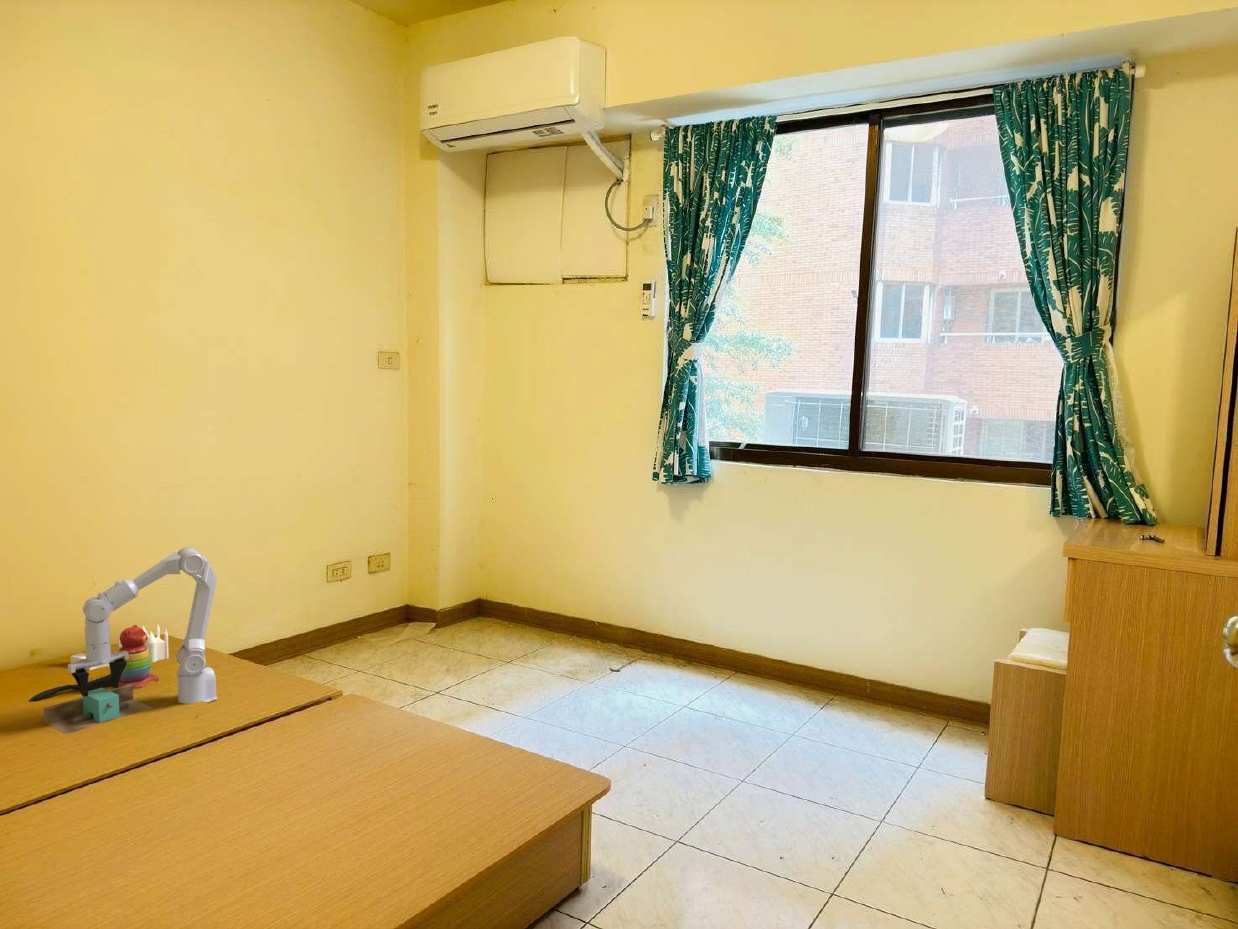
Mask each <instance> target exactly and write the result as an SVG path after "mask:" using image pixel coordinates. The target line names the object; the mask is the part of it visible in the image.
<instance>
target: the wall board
mask: <svg viewBox="0 0 1238 929" xmlns="http://www.w3.org/2000/svg"><path fill="white" fill-rule="evenodd" d="M107 690H108V691H111V692H113V693H115V694H117V695H119V705H120V704H124V703H128V704H129V708H127V709H123V710H120V711H119V717H117V718H113V719H110V720H107V721H103V722H100V723H99V722H97V721H95V720H94V718H93V719H90V720H86V721H83V722H80V723H76V724H72V723H71V719H72V718H76V717H79V716H82V715H83V698H82V697H80V698H76V699H72V700H68V701H64V702H60V703H58V704H54V705H49V706H45V707H43V717H44V720H43V721H44V724H46V725H48V726H49V727H52V728H53V729H55V730H57V731H59V732H61V733H63V734H65V735H69V734H72V733H75V732H79V731H82V730H85V729H88V728H91V727H94V726H98V725H101V724H102V725H103V724H104V723H105V724H106V723H109V722H111V721H115V720H118V719H122V718H124V717H128V716H132V715H135V714H137V713H142V712H144V711H148V710H151V709H153V706H150V705H149V704H148V705H147V704H145V703H143V702H141V701H139V700H136V699H134V689H133V685H131V684H129V685H126V686H122V687H119V686H118V688H112V689H107Z"/></svg>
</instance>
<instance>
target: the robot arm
mask: <svg viewBox="0 0 1238 929" xmlns="http://www.w3.org/2000/svg"><path fill="white" fill-rule="evenodd" d="M181 571H182V572H183V573H184V574H186V575H188V576H190V577H192V579H193V580H194V581H195V583H196V584H195V590H194V594H193V598H192V604H191V609H190V614H189V620H188V624H187V629H186V635H185V637H184V638H183V641H182V644H181V646H180V648H179V649H178V650H177V652H176V655H175V658H176V662H177V663H178V664H179V665H180V666H179V668H178V670H177V672H176V674H177V675H176V676H177V677H176V678H177V702H178V703H180V704H182V705H183V704H186V705H188V704H189V705H191V704H197V703H199V702H205V703H210V702H213V701H217V700H218V696H217V678H216V674H215V671H214V669H213V668H211V667H209V666H207V659H206V656H205V652H206V642H205V639H206V635H207V630H208V625H209V621H210V614H211V610H212V604H213V600H214V594H215V590H216V586H217V576H216V574H215V572H214V570H213V568H212V566H211V563H210V561H209V560H208V559H207V558H206V557H205V556H204V555H203V554H201V552H200V551H198V549H196V548H194V547H191V546H186V547H182V548H181V549H179V550H178V551H175V552H173V553H171V554H170V555H168V556H166V557H165V558H163V559H162V560H160V561H159V562H157V563H156V564H155V565H153V566H152V567H150V568H149V569H147V570H146V571H143V572H142V573H140V574H139V575H137V577H135V578H133V579H122V580H121V581H120V580H117V581H115V582H114V585H113V586H111V587H110V588H107V589H106V590H104V591H103V592H98V593H97V594H96V596H92V597H89V598H88V599H87V600H86V601H85V602H84V604H83V606H82V611H83V612H82V613H84V616H85V618H84V624H85V626H84V640H85V641H84V642H85V645H84V646H85V654H86V659H83V660H80V661H78V662H75V663H72V664H71V663H69V664H67V672H68V673H70V674H71V675H72V677H73V678H74V680H75V682H76V684H77V685H78V686H79V688H80V694H81V696H84V697H86V696H88V682H89V676H90V673H89V672H87V670H86V669H87V668H91V667H94V666H98V665H102V664H106V663H109V666H108V667H109V670H110V674H111V685H112V686H111V687H112V688H113V689H115V688H119V686H118V685H119V681H120V677H121V674H122V672H123V670H124V668H125V667H126V665H127V661H125V659H129V655H128V652H127V651H121V652H118V651H116V652H112V646H111V645H112V644H111V625H110V622H109V620H110V619H109V617H110V616H111V614H112V612H115V611H116V610H118V609H119V608H121V607H122V606H125V605H126V604H128V603H129V602H131V601H133V600H134V599H136V598H137V597H138V595H139V592H140V590H142V589H144V588H146V587H147V586H149V585H151V584H153V583H155V582H156V581H158V580H159V579H162V578H163V577H166V576H168V575H181V574H182V573H181ZM206 666H207V667H206Z"/></svg>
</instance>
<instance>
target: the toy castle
mask: <svg viewBox="0 0 1238 929" xmlns="http://www.w3.org/2000/svg"><path fill="white" fill-rule="evenodd" d="M141 629H143V630H144V631H145V632H146V634H147V635H148V639H147V641H146V642H145V645H146V646H147V649H148V651H149V655H150V658H151V664H152V663H156V662H157V661H162V660H168V659H169V634H168V630H167V628H165V632H164V635H163V636H164V640H163V639H161V629H160V625H159V624H157V626H156V637H155V635H154V633H153V631H152V630H151V631H150V632H149V633H148V632H147V630H146V628H145V626H144V625H142V627H141ZM123 630H124V629H123ZM123 630H122V631H123ZM118 646H119V649H120V648H121V647H122V645H121V643H120V638H119V640H118ZM83 659H86V653H84V652H79V653H77V654H72V655H70V664H72V663H75V662H78V661H80V660H83ZM105 667H110V666H109V663H106V664H102V665H98V666H94V667H91V668H87V669H85V670H86V671H92V670H95V669H101V668H105Z"/></svg>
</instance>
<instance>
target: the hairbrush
mask: <svg viewBox="0 0 1238 929" xmlns="http://www.w3.org/2000/svg"><path fill="white" fill-rule="evenodd" d="M97 676H98V677H97ZM94 677H96V678H95V679H93V677H90V679H89V681H88V691H91V690H95V689H99V688H104V689H106V688H110V687H112V685H111V671H109V672H108V674H106V675H104V674H102V673H101V674H99V675H96V676H95V675H94ZM69 690H75V691H78V692H79V691H80V688H79V686H78V683H77V682H76V681H75V684H66V685H60V686H58V687H57V686H56V687H53V688H49V689H46V690H44V691H41V692H39V693H37V694H35V695H34V696H32V697H31V698H30V699H29V701H30V702H40V701H42V700H45V699H46V698H48V697H51V696H53V695H55V694H58V693H61V692H65V691H69ZM80 692H81V691H80Z"/></svg>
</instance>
